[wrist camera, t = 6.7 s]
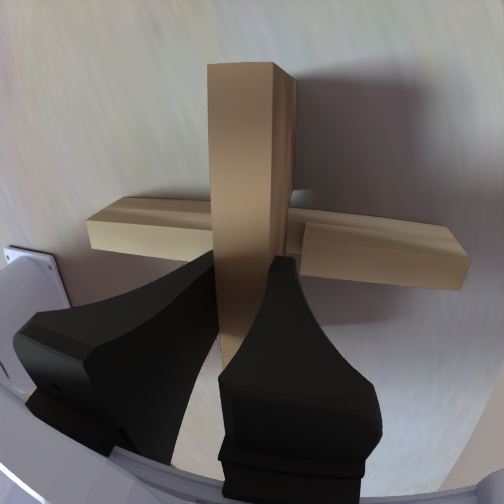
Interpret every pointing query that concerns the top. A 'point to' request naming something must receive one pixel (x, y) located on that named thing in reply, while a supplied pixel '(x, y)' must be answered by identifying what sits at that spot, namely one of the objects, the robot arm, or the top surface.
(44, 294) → the robot arm
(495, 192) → the top surface
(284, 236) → the wooden plank
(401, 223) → the birch board
